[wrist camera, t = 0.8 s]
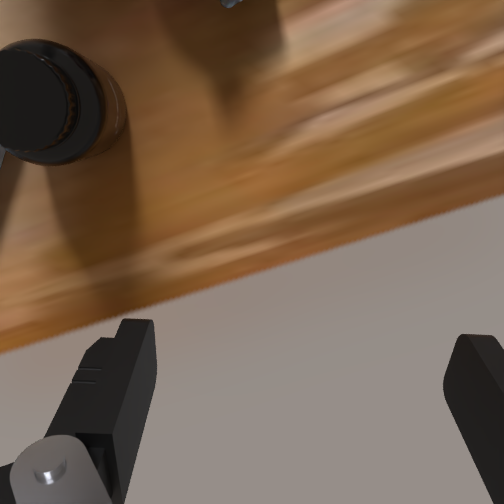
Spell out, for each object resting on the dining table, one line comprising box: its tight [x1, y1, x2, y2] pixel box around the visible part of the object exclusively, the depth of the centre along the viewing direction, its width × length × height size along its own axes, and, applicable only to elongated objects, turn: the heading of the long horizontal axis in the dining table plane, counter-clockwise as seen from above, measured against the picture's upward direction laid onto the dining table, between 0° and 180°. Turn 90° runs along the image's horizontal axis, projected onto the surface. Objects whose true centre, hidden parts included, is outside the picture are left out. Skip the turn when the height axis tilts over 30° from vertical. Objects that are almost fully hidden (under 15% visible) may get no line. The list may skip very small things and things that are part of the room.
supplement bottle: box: [0, 39, 126, 166], centre depth 28 cm, size 7×7×12 cm
